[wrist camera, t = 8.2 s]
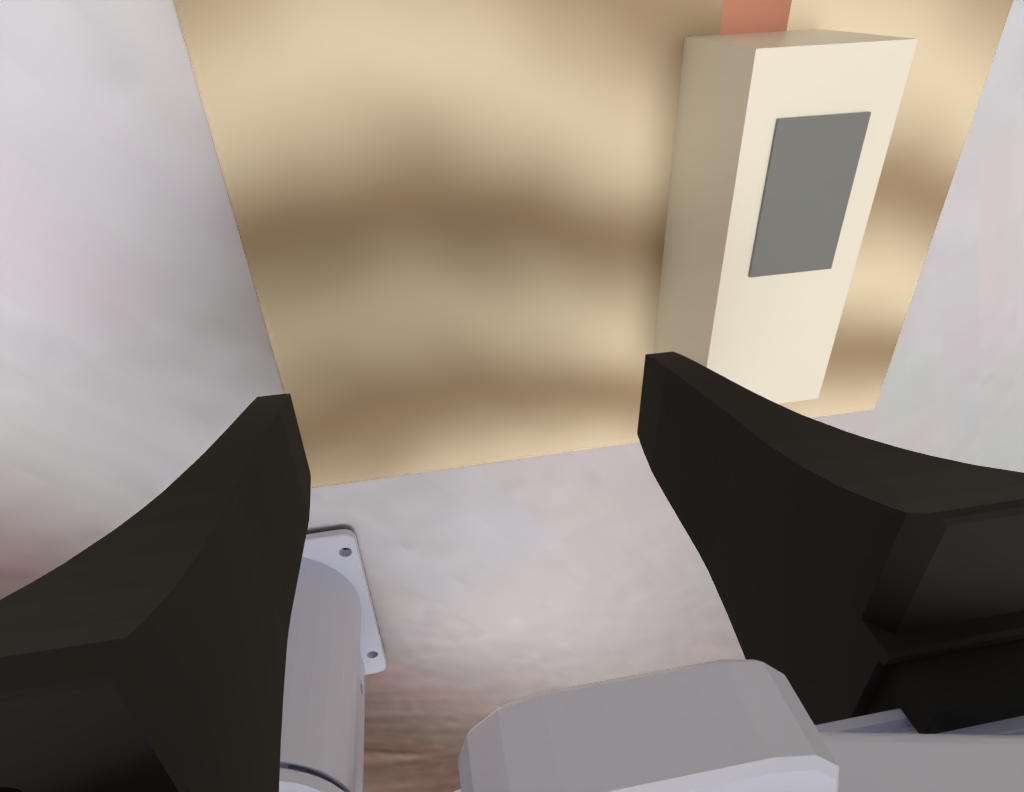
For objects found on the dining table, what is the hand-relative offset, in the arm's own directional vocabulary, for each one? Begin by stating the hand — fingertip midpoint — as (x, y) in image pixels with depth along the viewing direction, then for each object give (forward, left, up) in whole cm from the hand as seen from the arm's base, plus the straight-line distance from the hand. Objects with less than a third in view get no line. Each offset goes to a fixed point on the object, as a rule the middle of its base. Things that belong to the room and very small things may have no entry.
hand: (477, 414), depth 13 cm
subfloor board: (+1, -6, -9) cm, 11 cm away
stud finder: (+1, -9, -8) cm, 13 cm away
